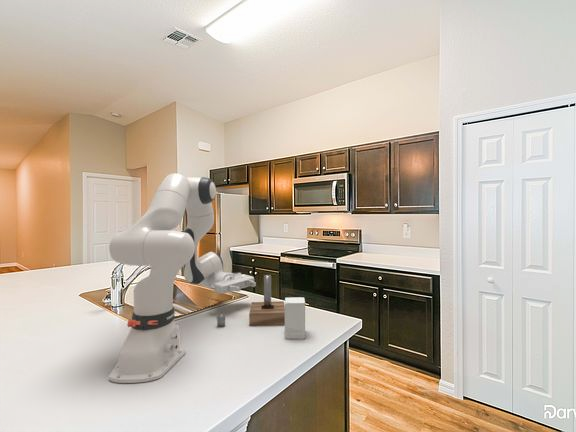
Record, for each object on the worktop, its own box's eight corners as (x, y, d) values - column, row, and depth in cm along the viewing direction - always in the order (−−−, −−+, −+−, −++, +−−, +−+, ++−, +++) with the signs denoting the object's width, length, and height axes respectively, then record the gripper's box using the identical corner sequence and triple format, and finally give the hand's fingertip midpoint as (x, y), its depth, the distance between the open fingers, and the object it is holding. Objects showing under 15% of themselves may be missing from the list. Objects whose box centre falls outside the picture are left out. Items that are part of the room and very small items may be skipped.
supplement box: (305, 339, 104) (305, 303, 104) (284, 339, 104) (284, 303, 104) (304, 330, 111) (304, 296, 111) (285, 330, 111) (284, 296, 111)
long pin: (271, 320, 122) (271, 276, 121) (263, 320, 121) (263, 276, 121) (271, 317, 125) (271, 274, 124) (264, 317, 124) (263, 274, 124)
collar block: (285, 325, 116) (285, 312, 116) (249, 326, 116) (249, 313, 116) (283, 312, 130) (283, 301, 130) (251, 313, 130) (251, 302, 130)
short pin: (224, 327, 115) (224, 315, 115) (216, 327, 114) (216, 316, 114) (225, 324, 118) (225, 313, 118) (217, 324, 117) (217, 313, 117)
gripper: (207, 280, 130) (229, 284, 121) (241, 271, 146) (262, 275, 138) (207, 294, 130) (229, 300, 122) (241, 284, 146) (262, 289, 138)
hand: (247, 286), depth 130 cm, fingers open, 8 cm apart
